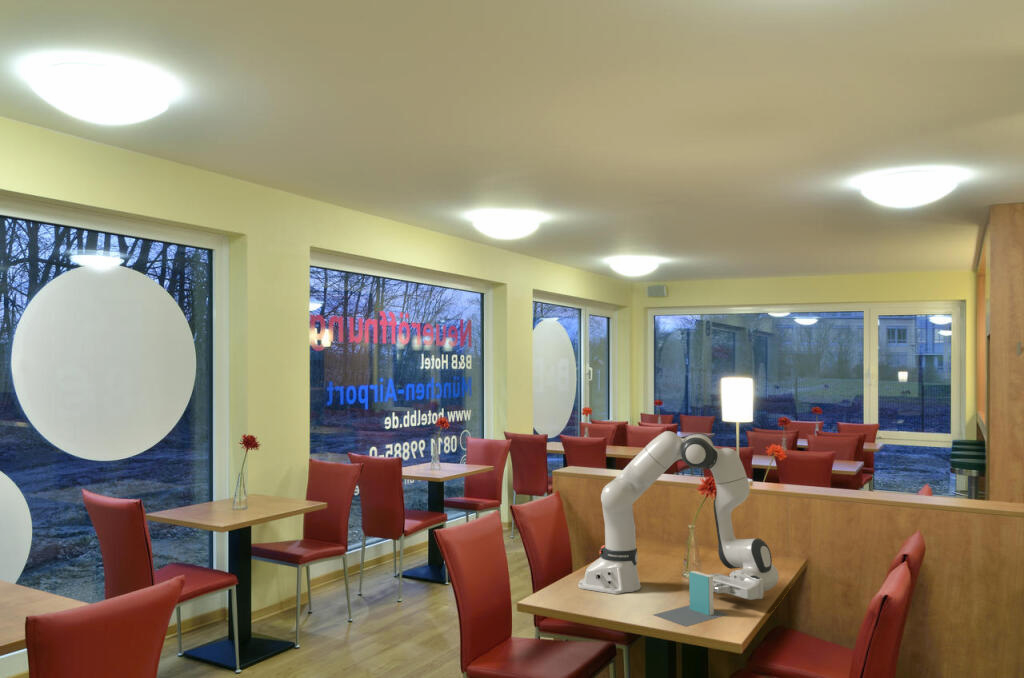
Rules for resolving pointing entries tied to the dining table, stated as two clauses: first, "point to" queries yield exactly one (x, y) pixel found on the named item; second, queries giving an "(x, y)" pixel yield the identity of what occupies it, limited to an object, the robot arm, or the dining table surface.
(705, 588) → the teal book
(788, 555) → the dining table surface
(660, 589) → the dining table surface
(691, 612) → the mat
